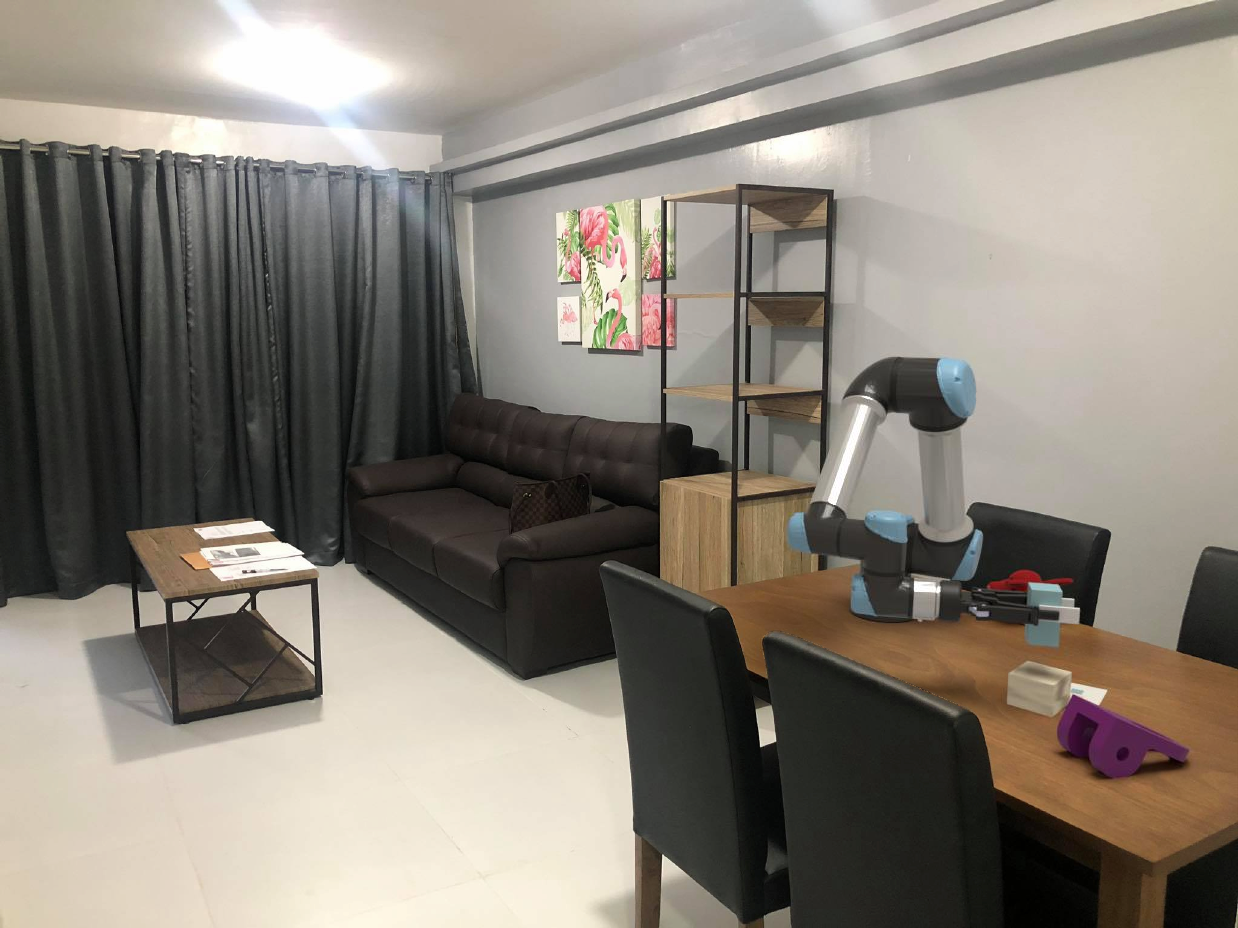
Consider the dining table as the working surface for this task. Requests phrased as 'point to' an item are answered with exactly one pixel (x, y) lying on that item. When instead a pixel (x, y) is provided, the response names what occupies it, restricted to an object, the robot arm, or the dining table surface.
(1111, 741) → the mounting bracket
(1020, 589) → the toy
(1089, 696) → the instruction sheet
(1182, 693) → the dining table surface
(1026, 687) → the birch base brick
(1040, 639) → the teal brick
